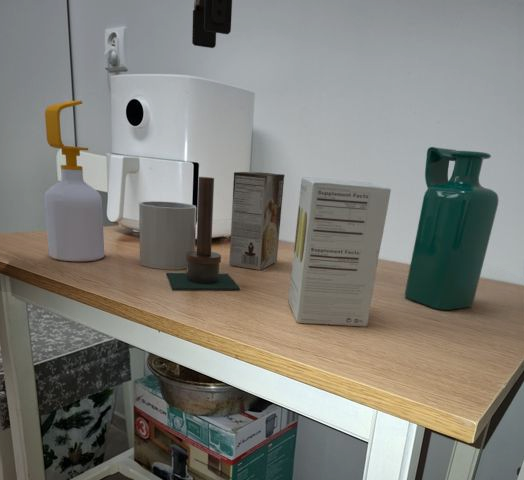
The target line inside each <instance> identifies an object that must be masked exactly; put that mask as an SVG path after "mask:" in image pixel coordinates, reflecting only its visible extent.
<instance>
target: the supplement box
mask: <svg viewBox="0 0 524 480" xmlns="http://www.w3.org/2000/svg"><path fill="white" fill-rule="evenodd" d="M300 180H301V181H300V190H299V198H298V199H299V200H298V207H297V208H298V209H297V218H296V228H295V237H294V245H293V254H292V255H293V256H292V264H291V272H290V273H291V274H290V282H289V292H288V304H289V306H290V309H291V313H292V314H293V317H294V319H295V322H296V323H297V324H310V325H311V324H312V325H328V324H329V325H330V326H331V325H332V326H347V327H348V326H349V327H363V328H364V327H365V328H367V327H368V322H369V316H370V311H371V304H372V299H373V293H374V288H375V281H376V275H377V270H378V264H379V256H380V250H381V246H382V241H383V235H384V231H385V225H386V220H387V215H388V209H389V203H390V196H391V192H392V190H391V188H389V187H383V186H381V185H377V184H373V183H371V182H365V181H364V182H363V181H353V180H345V179H344V180H342V179H331V178H320V177H309V176H308V177H307V176H303V177H301V179H300Z"/></svg>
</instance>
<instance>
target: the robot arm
mask: <svg viewBox="0 0 524 480" xmlns="http://www.w3.org/2000/svg"><path fill="white" fill-rule="evenodd" d="M232 14H233V0H193V10H192V31H191V33H192V36H191V37H192V39H191V42H192V45H193V46H195V47H202V48H209V49H214V48H216V46H217V34H220V35H221V34H222V35H229V34H230V33H231V31H232V17H233V15H232Z"/></svg>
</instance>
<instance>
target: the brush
mask: <svg viewBox="0 0 524 480" xmlns="http://www.w3.org/2000/svg"><path fill="white" fill-rule="evenodd" d="M197 187H198V189H197V190H198V191H197V217H196V250H195V251H191V252H187V253H186V260H187V261H188V265H187V269H186V271H187V272H186V273H187V280H188V281H190V282H193V283H198V284H213V283H217V282H218V280H219V273H220V263H221V261H222V255H221V254H220V253H218V252H215V251H212V245H213V244H212V241H213V238H212V237H213V219H214V218H213V217H214V195H215V194H214V193H215V192H214V190H215V177H211V176H198V185H197Z"/></svg>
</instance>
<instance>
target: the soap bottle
mask: <svg viewBox="0 0 524 480" xmlns="http://www.w3.org/2000/svg"><path fill="white" fill-rule="evenodd" d="M82 104H83V100H68V101H64V102H59V103H54V104H50V105H49V106H47V107H46V108H45V110H44V121H45V133H46V142H47V144H48V145H49V147H51V148H54V149H61V155H62V156H65V164H60V175H61V176H60V177H61V179H60V180H59V181H58V182H57V183H55V184H53V185H52V186H50V187H49V188H48V190H46V191H45V194H44V196H43V201H44V202H43V203H44V212H45V213H44V214H45V225H46V235H47V247H48V255H49V257H50V258H52V259H54V260H57V261H62V262H73V263H85V262H94V261H98V260H101V259H102V258H104V257H105V235H104V212H103V199H102V196H101V193H100V192H98V190H96V189H95V188H94V187H92V186H91V185H89V184H88V183H87V182H86V181H85V180H84V172H83V171H84V169H83V166H82V165H78V157H80V156H81V151H89V147H81V146H69V145H64V143H63V140H62V133H61V119H60V117H61V112H62V110H65V109H67V108H70V107H75V106H78V105H79V106H80V105H82Z"/></svg>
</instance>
